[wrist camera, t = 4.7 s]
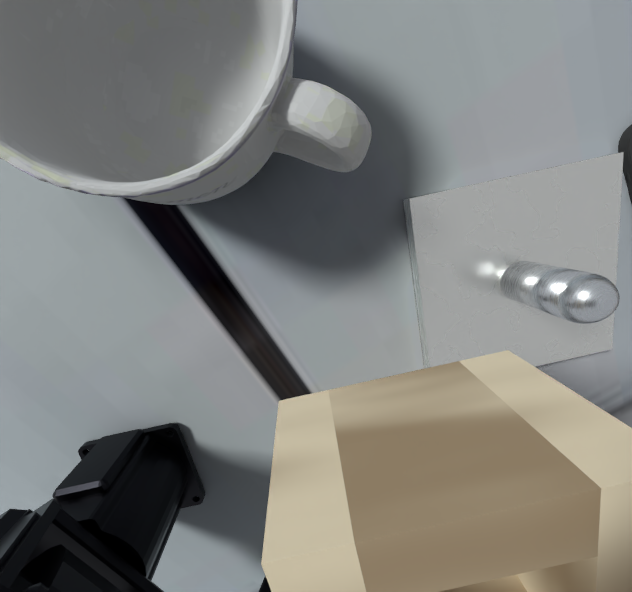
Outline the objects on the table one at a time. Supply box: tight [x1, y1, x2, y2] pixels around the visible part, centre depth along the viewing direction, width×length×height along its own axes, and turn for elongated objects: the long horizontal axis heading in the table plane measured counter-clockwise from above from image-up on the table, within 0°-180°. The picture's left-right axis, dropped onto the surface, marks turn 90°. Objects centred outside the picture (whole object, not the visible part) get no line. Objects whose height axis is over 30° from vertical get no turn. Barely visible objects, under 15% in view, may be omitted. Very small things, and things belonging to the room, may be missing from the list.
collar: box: [261, 350, 632, 592], centre depth 7 cm, size 6×6×4 cm
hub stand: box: [403, 152, 624, 369], centre depth 16 cm, size 12×12×6 cm
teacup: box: [0, 0, 372, 205], centre depth 12 cm, size 14×11×8 cm
